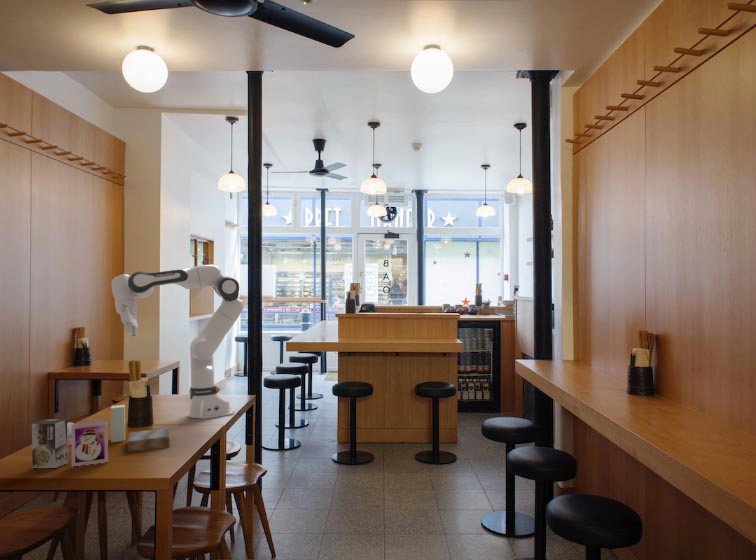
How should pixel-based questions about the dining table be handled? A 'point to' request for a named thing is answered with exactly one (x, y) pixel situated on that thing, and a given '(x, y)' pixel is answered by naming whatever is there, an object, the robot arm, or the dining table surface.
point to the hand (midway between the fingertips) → (132, 335)
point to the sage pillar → (118, 423)
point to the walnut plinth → (148, 440)
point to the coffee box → (49, 443)
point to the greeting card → (90, 442)
